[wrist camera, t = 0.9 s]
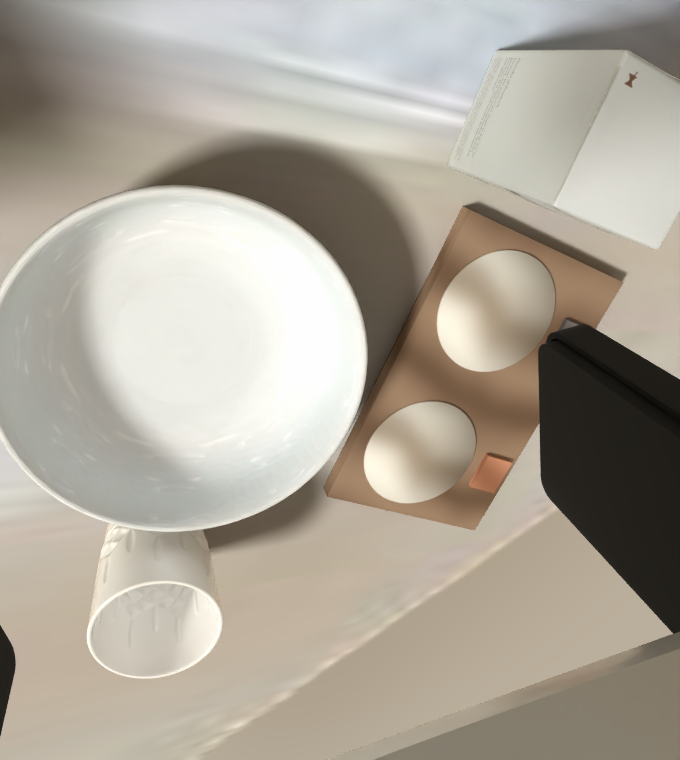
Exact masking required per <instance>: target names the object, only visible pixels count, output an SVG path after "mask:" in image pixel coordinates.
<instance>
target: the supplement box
mask: <svg viewBox="0 0 680 760" xmlns="http://www.w3.org/2000/svg"><path fill="white" fill-rule="evenodd" d="M448 166H449V167H451V168H453V169H455V170H458V171H460V172H462V173H465V174H467V175H469V176H471V177H474V178H476V179H478V180H480V181H483V182H485V183H487V184H490V185H492V186H494V187H496V188H499V189H501V190H503V191H506V192H508V193H510V194H513V195H515V196H518V197H520V198H522V199H525V200H527V201H529V202H532V203H534V204H536V205H539V206H541V207H544V208H546V209H549V210H552V211H554V212H557V213H559V214H562V215H564V216H567V217H569V218H572V219H574V220H577V221H579V222H582V223H584V224H587V225H590V226H592V227H595V228H597V229H600V230H603V231H605V232H608V233H610V234H613V235H616V236H618V237H621V238H624V239H627V240H629V241H632V242H635V243H638V244H641V245H643V246H646V247H649V248H652V249H655V250H657V249H659V247H660V246H661V244H662V242H663V240H664V238H665V237H666V235H667V233H668V231H669V230H670V228H671V226H672V224H673V223H674V221H675V219H676V217H677V215H678V213H679V212H680V79H678V78H676V77H673V76H671V75H670V74H668V73H666V72H665V71H663V70H661V69H659V68H658V67H656V66H654V65H652V64H651V63H649V62H647V61H646V60H644V59H642V58H640V57H639V56H637V55H635V54H634V53H633V52H631V51H629V50H496V51H495V54H494V56H493V58H492V60H491V62H490V65H489V67H488V69H487V71H486V74H485V76H484V79H483V81H482V83H481V86H480V88H479V90H478V93H477V95H476V97H475V100H474V102H473V104H472V107H471V109H470V111H469V113H468V116H467V118H466V121H465V123H464V125H463V128H462V130H461V132H460V135H459V137H458V140H457V142H456V144H455V146H454V149H453V151H452V154H451V156H450V159H449V162H448Z"/></svg>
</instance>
